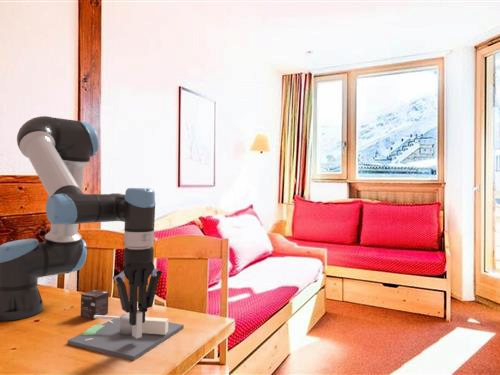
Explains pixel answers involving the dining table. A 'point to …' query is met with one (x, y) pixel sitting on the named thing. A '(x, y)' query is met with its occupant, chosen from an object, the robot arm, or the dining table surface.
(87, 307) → the box
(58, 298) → the dining table surface
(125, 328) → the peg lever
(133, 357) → the dial board
